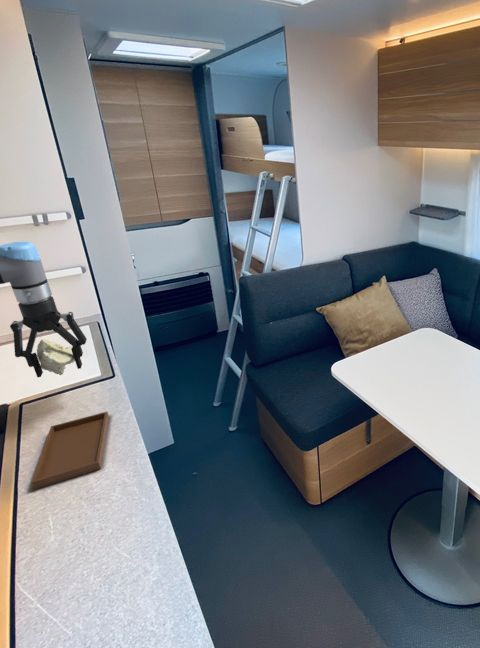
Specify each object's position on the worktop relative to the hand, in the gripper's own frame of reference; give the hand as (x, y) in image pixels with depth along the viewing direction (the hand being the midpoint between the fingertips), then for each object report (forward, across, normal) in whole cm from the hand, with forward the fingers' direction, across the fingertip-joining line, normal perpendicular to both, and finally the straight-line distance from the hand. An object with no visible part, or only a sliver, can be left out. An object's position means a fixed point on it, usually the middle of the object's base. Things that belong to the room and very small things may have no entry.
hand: (60, 370), depth 119 cm
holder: (+12, +4, -23) cm, 26 cm away
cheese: (+1, +1, 0) cm, 1 cm away
